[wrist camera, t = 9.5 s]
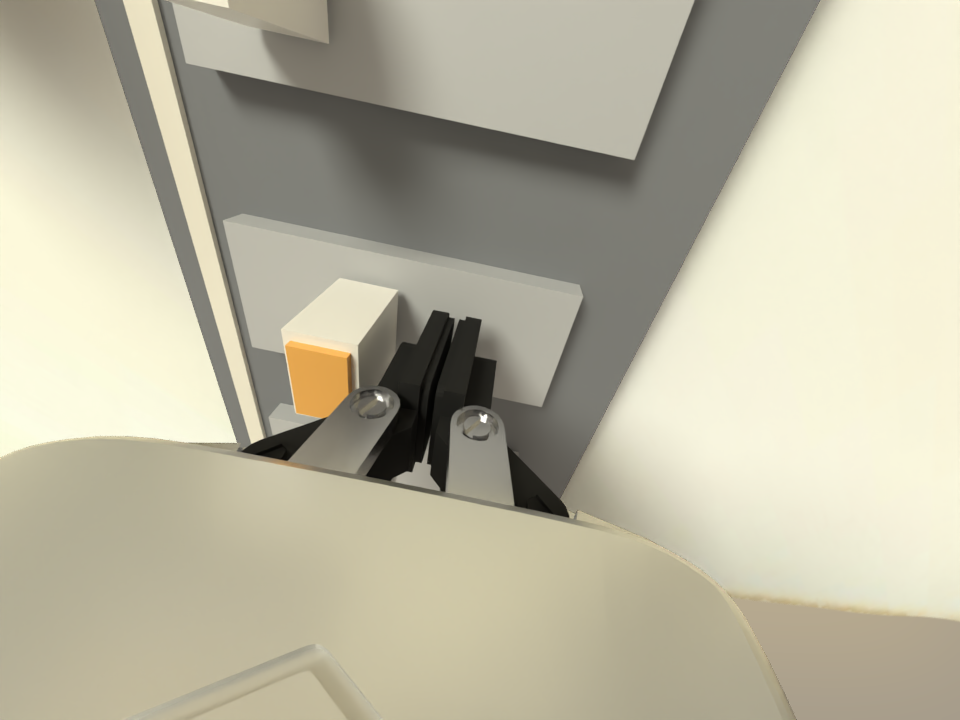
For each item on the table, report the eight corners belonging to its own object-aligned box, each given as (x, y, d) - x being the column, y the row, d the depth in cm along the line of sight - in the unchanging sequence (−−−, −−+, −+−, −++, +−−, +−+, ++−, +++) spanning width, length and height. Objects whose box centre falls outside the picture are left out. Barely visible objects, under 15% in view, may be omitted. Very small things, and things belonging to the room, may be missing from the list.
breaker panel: (884, -219, 8) (1053, -377, 5) (536, 511, 24) (538, 557, 21) (49, -411, 7) (-187, -670, 5) (269, 457, 23) (239, 497, 21)
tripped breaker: (398, 290, 12) (354, 350, 9) (395, 361, 14) (356, 432, 11) (339, 277, 12) (275, 333, 9) (343, 350, 14) (290, 418, 11)
